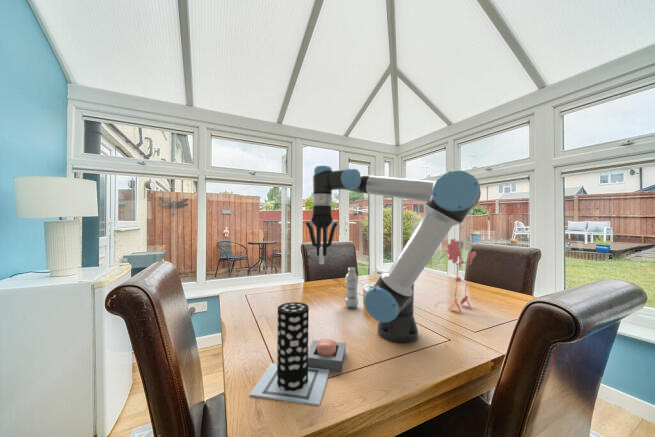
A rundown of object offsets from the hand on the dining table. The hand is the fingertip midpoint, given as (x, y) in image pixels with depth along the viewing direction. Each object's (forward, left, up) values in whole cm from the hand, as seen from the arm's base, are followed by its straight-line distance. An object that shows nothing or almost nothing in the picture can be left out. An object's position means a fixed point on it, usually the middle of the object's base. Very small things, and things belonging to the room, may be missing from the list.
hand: (321, 263), depth 102 cm
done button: (-6, +21, -26) cm, 34 cm away
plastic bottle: (-10, -28, -27) cm, 40 cm away
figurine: (-61, -39, -27) cm, 77 cm away
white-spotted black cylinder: (+1, +34, -26) cm, 43 cm away
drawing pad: (+1, +34, -26) cm, 43 cm away
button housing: (-6, +21, -26) cm, 34 cm away
